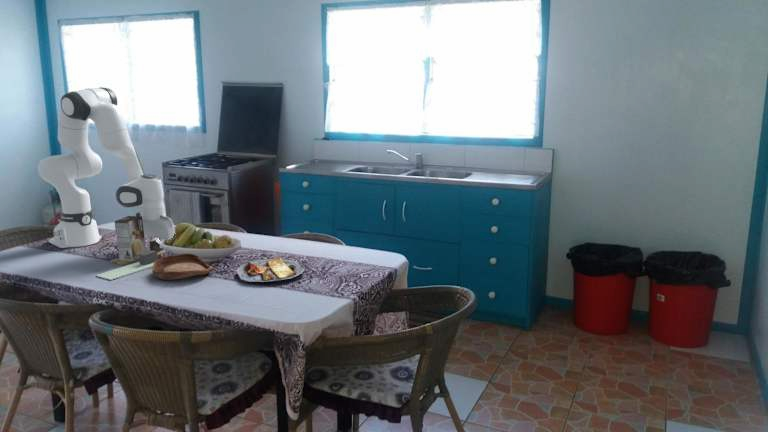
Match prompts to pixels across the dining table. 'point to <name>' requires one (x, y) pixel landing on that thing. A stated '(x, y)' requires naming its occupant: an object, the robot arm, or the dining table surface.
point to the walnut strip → (152, 247)
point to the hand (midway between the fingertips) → (157, 246)
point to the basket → (180, 267)
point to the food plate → (269, 270)
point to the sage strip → (132, 266)
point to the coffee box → (130, 238)
